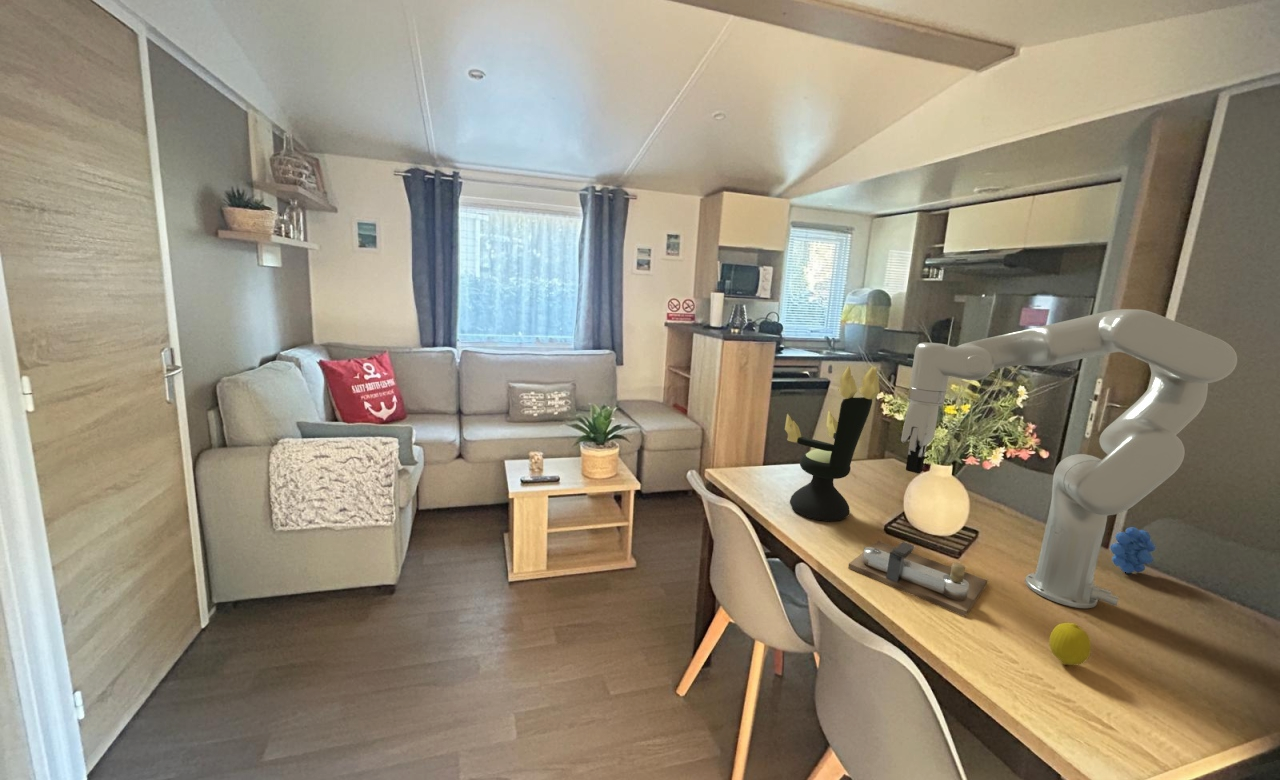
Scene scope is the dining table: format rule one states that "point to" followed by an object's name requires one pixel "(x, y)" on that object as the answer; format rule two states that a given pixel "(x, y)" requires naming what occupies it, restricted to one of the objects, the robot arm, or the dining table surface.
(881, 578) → the base board
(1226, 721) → the dining table surface
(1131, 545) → the grapes
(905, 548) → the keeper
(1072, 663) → the lemon
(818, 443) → the black toy throne
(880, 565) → the bolt
